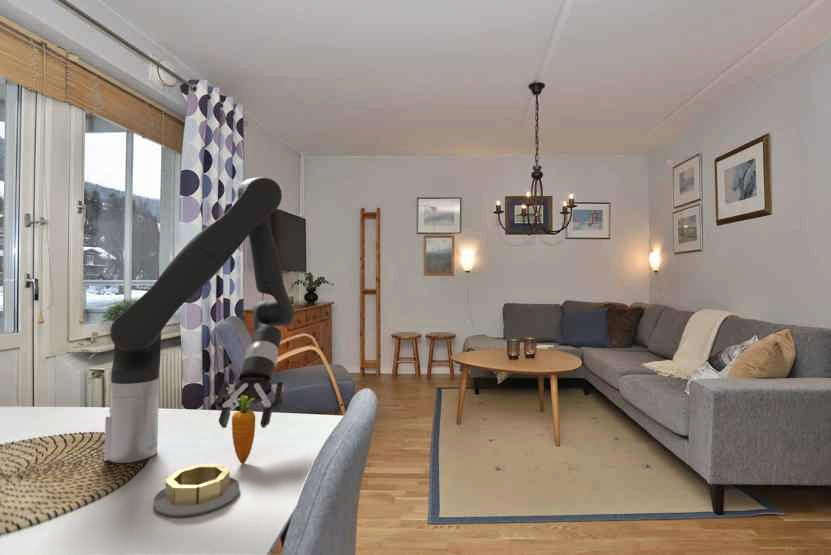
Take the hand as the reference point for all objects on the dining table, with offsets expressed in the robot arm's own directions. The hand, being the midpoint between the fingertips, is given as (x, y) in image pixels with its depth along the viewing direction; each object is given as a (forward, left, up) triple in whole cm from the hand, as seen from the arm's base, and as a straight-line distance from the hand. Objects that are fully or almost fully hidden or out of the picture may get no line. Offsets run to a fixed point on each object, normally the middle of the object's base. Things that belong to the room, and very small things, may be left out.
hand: (243, 426), depth 94 cm
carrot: (0, +1, -9) cm, 9 cm away
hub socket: (-3, -14, -8) cm, 17 cm away
